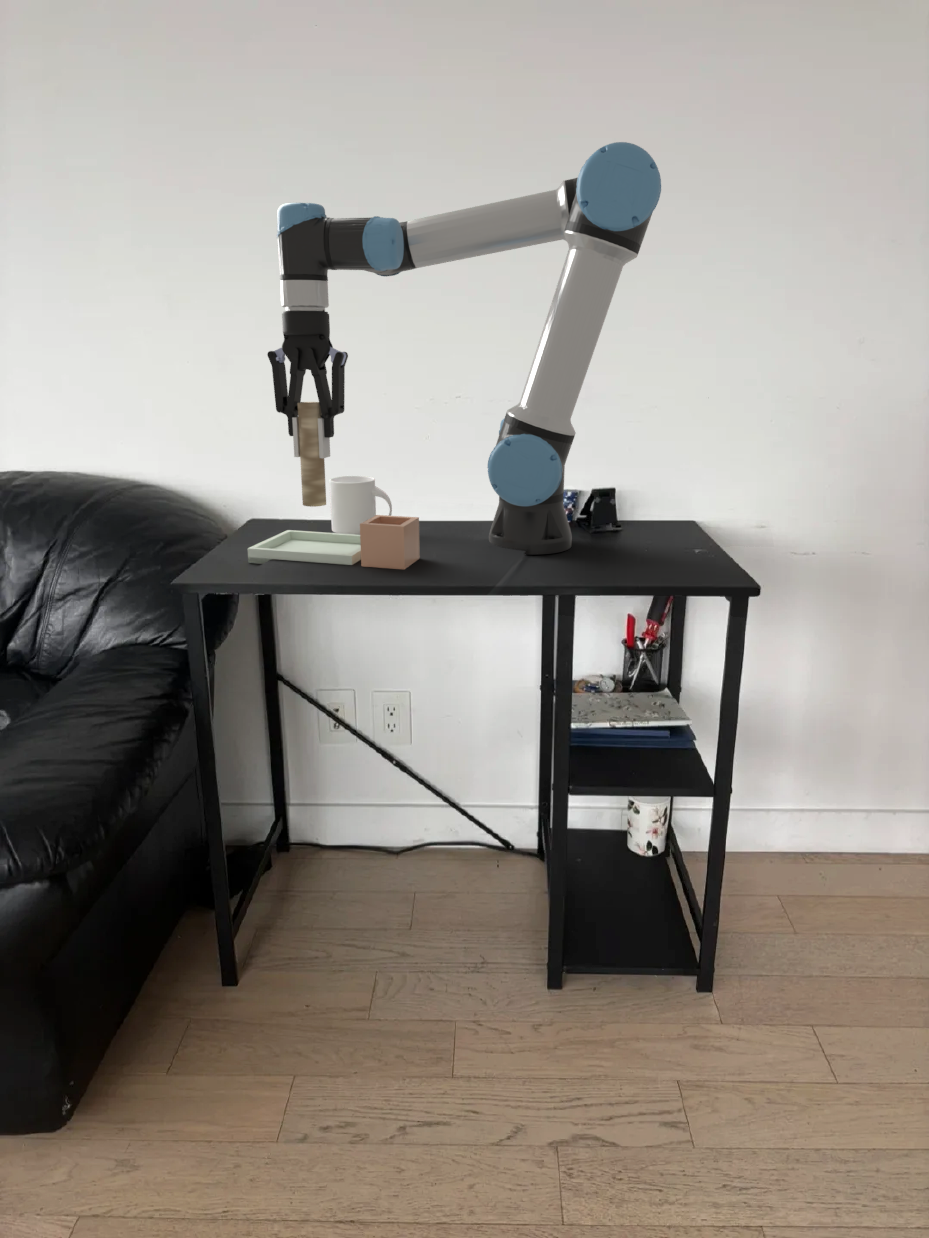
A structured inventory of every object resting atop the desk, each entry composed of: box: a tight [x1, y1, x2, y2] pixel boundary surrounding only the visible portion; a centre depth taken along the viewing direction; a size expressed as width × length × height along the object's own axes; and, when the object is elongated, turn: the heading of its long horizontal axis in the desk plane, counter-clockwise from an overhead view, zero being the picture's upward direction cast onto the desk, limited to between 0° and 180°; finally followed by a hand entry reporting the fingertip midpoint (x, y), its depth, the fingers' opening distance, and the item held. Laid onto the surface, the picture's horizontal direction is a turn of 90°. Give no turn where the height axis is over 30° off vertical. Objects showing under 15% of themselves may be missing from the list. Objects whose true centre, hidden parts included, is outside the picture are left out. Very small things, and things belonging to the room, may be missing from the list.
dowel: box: [297, 401, 327, 508], centre depth 148 cm, size 4×4×17 cm
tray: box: [246, 529, 361, 566], centre depth 153 cm, size 19×15×2 cm
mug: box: [328, 475, 393, 535], centre depth 168 cm, size 9×12×11 cm
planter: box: [359, 514, 421, 570], centre depth 145 cm, size 8×8×8 cm
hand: (312, 456), depth 148 cm, fingers closed on dowel, 4 cm apart
